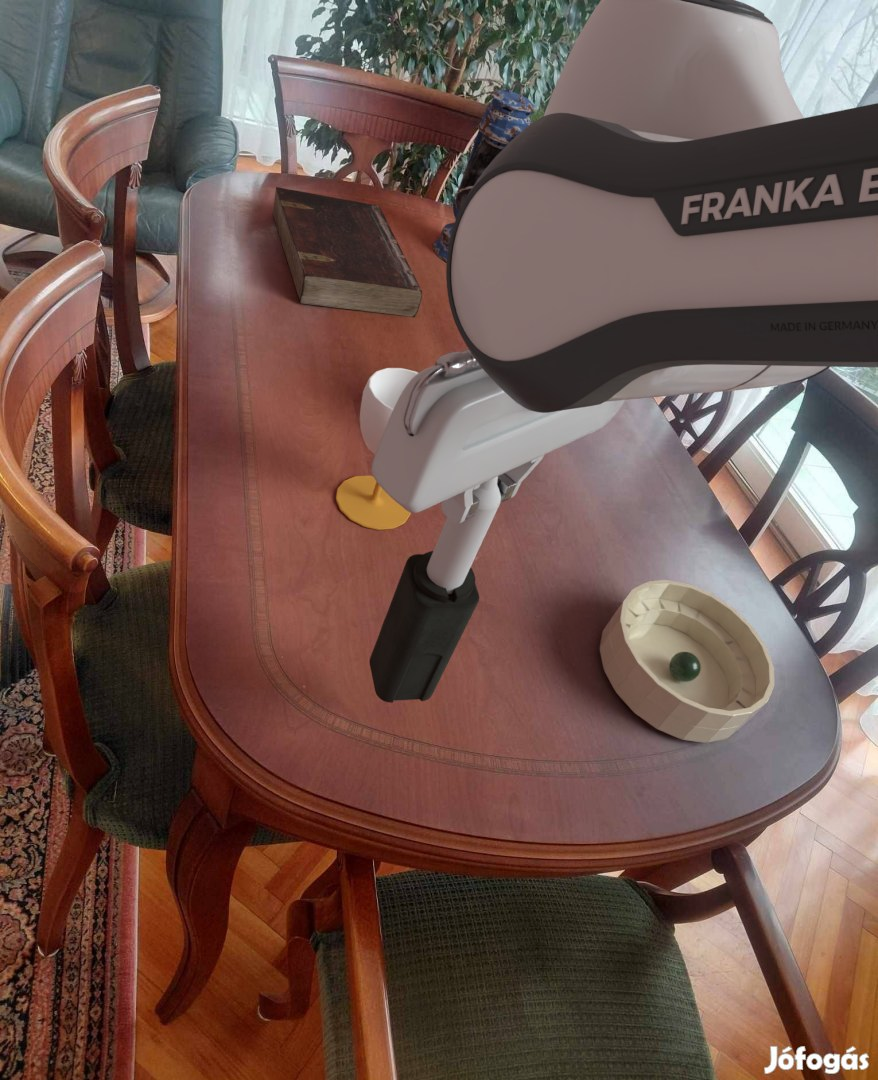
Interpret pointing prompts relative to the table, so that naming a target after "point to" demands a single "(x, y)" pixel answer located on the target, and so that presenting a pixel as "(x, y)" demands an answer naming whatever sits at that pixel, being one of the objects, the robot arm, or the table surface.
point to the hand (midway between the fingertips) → (477, 504)
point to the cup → (363, 492)
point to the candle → (431, 607)
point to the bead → (684, 666)
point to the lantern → (489, 147)
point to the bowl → (701, 629)
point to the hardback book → (344, 254)
